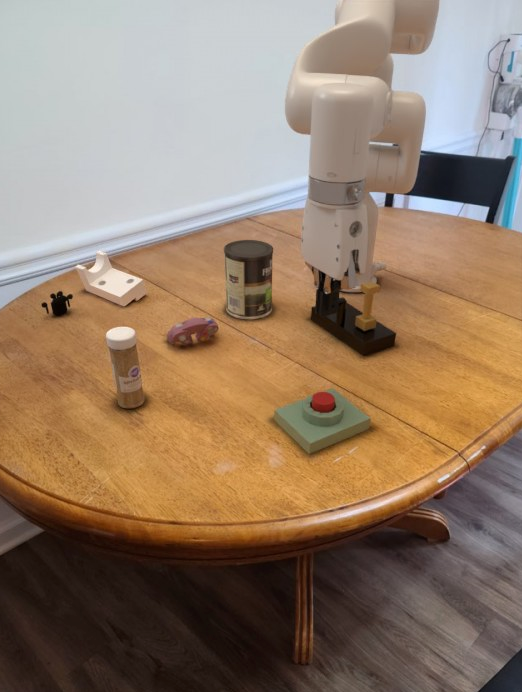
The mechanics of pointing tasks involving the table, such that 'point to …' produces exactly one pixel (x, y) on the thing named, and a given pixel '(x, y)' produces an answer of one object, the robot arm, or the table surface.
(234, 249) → the coffee can
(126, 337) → the sprinkles bottle
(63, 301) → the wireless earbuds
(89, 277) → the bracket
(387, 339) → the tap base
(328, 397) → the button
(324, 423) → the block
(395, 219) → the table surface
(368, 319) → the tap handle
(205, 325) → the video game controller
